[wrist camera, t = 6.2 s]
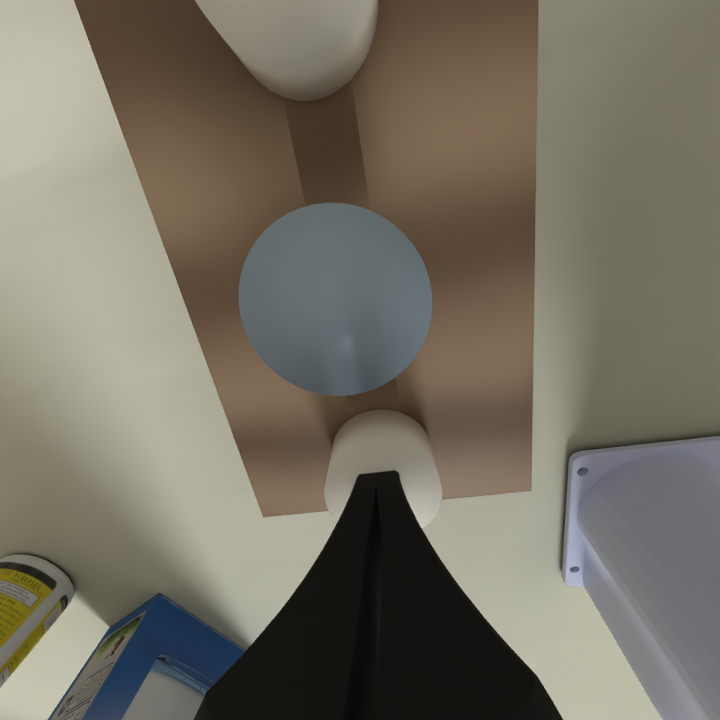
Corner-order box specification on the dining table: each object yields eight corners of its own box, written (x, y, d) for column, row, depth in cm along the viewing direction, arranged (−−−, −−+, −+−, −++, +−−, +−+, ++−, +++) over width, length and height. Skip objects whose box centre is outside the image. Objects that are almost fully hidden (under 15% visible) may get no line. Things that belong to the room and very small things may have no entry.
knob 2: (428, 455, 16) (446, 534, 12) (346, 465, 16) (336, 544, 12) (419, 380, 14) (436, 440, 10) (330, 392, 15) (312, 455, 11)
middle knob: (417, 328, 11) (440, 383, 7) (305, 345, 12) (268, 406, 8) (402, 202, 10) (420, 182, 6) (276, 226, 10) (211, 225, 6)
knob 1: (386, 108, 11) (393, 33, 7) (270, 134, 11) (210, 79, 7) (366, -58, 9) (358, -279, 5) (234, -21, 10) (134, -200, 6)
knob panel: (505, 447, 17) (531, 490, 14) (280, 473, 18) (263, 517, 15) (494, -107, 10) (542, -242, 7) (128, -3, 11) (44, -82, 8)
